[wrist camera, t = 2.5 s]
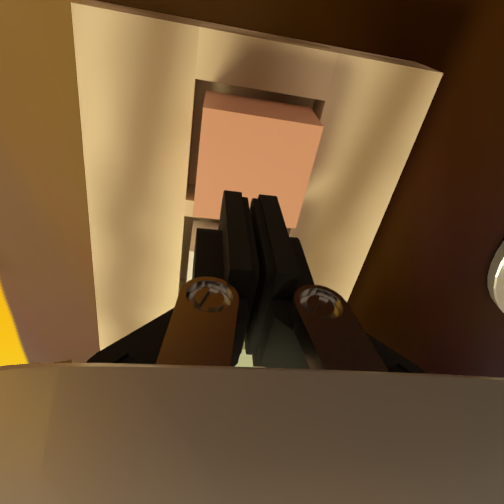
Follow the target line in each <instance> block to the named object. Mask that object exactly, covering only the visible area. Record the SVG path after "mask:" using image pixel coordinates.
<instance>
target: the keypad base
mask: <svg viewBox="0 0 504 504" xmlns="http://www.w3.org/2000/svg"><path fill="white" fill-rule="evenodd" d="M71 8H72V20H73V32H74V44H75V56H76V68H77V80H78V92H79V104H80V116H81V127H82V139H83V151H84V163H85V175H86V187H87V199H88V211H89V223H90V235H91V247H92V259H93V271H94V282H95V294H96V306H97V318H98V330H99V342H100V351H101V350H102V349H104V348H106V347H108V346H109V345H111V344H113V343H114V342H116V341H118V340H120V339H121V338H123V337H125V336H126V335H128V334H130V333H131V332H133V331H135V330H137V329H138V328H140V327H142V326H143V325H145V324H147V323H149V322H150V321H152V320H154V319H155V318H157V317H159V316H161V315H162V314H164V313H166V312H167V311H169V310H171V309H172V308H174V307H175V304H176V301H177V298H178V295H179V292H180V290H181V288H182V286H183V285H184V284H185V283H186V282H187V271H188V261H189V250H190V243H191V235H192V227H193V220H194V221H203V222H212V223H219V219H211V218H202V217H193V207H194V197H195V186H196V175H197V165H198V154H199V143H200V133H201V122H202V112H203V104H204V98H205V92H206V90H209V91H215V92H221V93H227V94H233V95H239V96H245V97H251V98H257V99H263V100H269V101H275V102H281V103H287V104H293V105H299V106H305V107H310V108H311V109H312V110H313V112H314V113H315V115H316V116H317V118H318V119H319V120H320V122H321V123H322V125H323V126H324V128H323V131H322V135H321V138H320V142H319V146H318V149H317V153H316V156H315V160H314V164H313V167H312V171H311V175H310V178H309V182H308V185H307V189H306V193H305V196H304V200H303V204H302V207H301V211H300V214H299V218H298V222H297V225H296V228H287V227H286V228H287V231H288V234H289V237H297V238H299V240H300V243H301V246H302V248H303V251H304V254H305V257H306V260H307V263H308V266H309V269H310V272H311V275H312V278H313V281H314V284H315V285H321V286H325V287H328V288H330V289H332V290H334V291H336V292H337V293H338V294H340V295H341V296H342V297H343V298H344V300H345V301H346V302H347V301H348V299H349V296H350V294H351V292H352V289H353V287H354V284H355V282H356V280H357V277H358V275H359V273H360V270H361V268H362V265H363V263H364V261H365V258H366V256H367V254H368V251H369V249H370V246H371V244H372V242H373V239H374V237H375V234H376V232H377V230H378V227H379V225H380V223H381V220H382V218H383V215H384V213H385V211H386V208H387V206H388V204H389V201H390V199H391V196H392V194H393V192H394V189H395V187H396V185H397V182H398V180H399V177H400V175H401V173H402V170H403V168H404V166H405V163H406V161H407V158H408V156H409V154H410V151H411V149H412V146H413V144H414V142H415V139H416V137H417V135H418V132H419V130H420V127H421V125H422V123H423V120H424V118H425V116H426V113H427V111H428V108H429V106H430V104H431V101H432V99H433V97H434V94H435V92H436V89H437V87H438V85H439V82H440V80H441V78H442V75H443V73H442V72H439V71H437V70H434V69H432V68H430V67H427V66H425V65H422V64H420V63H417V62H414V61H408V60H403V59H398V58H393V57H388V56H382V55H377V54H372V53H367V52H362V51H356V50H351V49H346V48H341V47H336V46H330V45H325V44H320V43H315V42H310V41H304V40H299V39H294V38H289V37H284V36H278V35H273V34H268V33H263V32H258V31H252V30H247V29H242V28H237V27H232V26H226V25H221V24H216V23H211V22H206V21H200V20H195V19H190V18H185V17H180V16H175V15H169V14H164V13H159V12H154V11H149V10H143V9H138V8H133V7H128V6H123V5H117V4H112V3H107V2H102V1H97V0H87V1H79V2H71ZM263 368H265V367H263Z"/></svg>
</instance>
